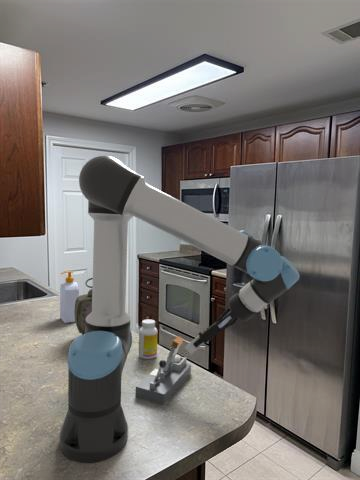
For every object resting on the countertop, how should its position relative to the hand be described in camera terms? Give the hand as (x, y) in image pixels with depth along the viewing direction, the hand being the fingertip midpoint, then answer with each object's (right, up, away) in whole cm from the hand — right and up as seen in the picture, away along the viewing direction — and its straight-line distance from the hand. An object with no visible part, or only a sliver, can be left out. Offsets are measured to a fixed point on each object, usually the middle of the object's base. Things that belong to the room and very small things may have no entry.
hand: (188, 350), depth 101 cm
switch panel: (-7, -12, +4) cm, 14 cm away
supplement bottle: (-14, -10, +23) cm, 29 cm away
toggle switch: (-10, -8, -3) cm, 13 cm away
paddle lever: (-7, -8, +3) cm, 11 cm away
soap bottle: (-55, -5, +59) cm, 80 cm away
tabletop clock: (-38, -8, +38) cm, 54 cm away
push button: (-4, -7, +10) cm, 13 cm away
